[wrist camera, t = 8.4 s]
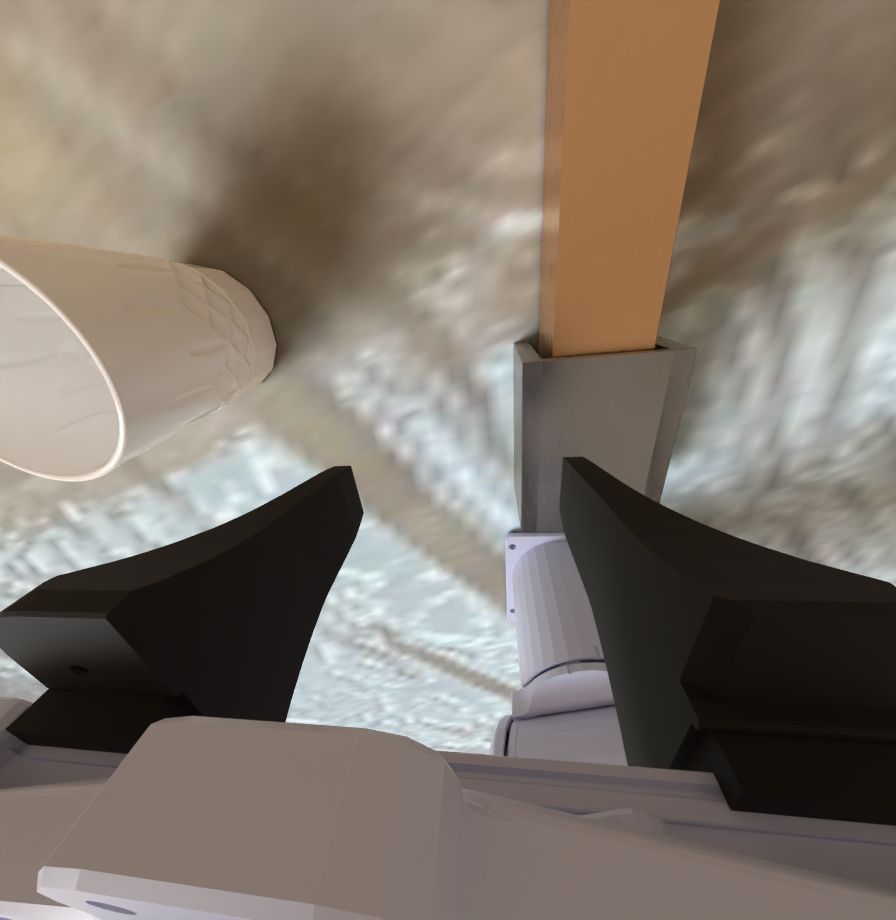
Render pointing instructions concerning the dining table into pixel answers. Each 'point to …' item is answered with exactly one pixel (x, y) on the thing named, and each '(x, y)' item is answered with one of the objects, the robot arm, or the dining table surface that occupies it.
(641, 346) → the tan wooden bar
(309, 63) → the dining table surface
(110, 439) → the white cup
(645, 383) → the sleeve
